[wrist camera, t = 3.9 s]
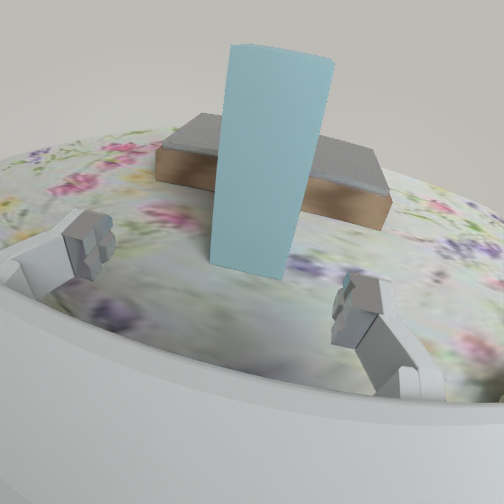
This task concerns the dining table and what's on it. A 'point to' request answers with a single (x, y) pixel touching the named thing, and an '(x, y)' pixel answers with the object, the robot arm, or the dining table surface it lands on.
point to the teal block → (265, 154)
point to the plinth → (319, 182)
